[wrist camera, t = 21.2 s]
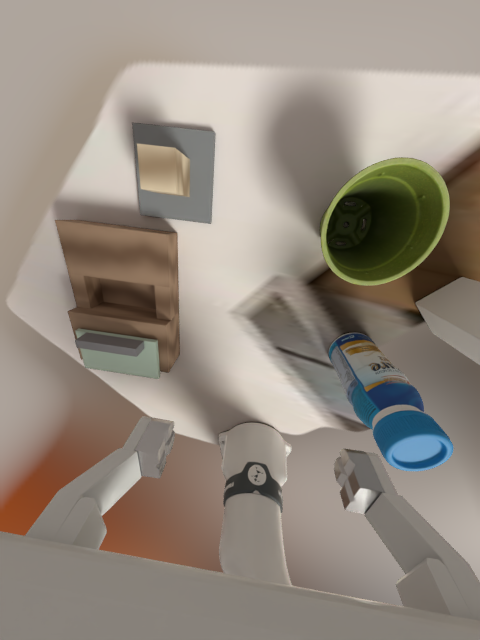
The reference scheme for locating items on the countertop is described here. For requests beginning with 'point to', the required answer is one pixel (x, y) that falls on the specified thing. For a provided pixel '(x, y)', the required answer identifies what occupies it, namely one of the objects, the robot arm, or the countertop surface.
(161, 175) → the maple block
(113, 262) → the puzzle board
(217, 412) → the countertop surface
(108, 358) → the sliding lid
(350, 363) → the beverage bottle
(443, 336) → the milk carton
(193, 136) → the rubber pad
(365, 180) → the plant pot
